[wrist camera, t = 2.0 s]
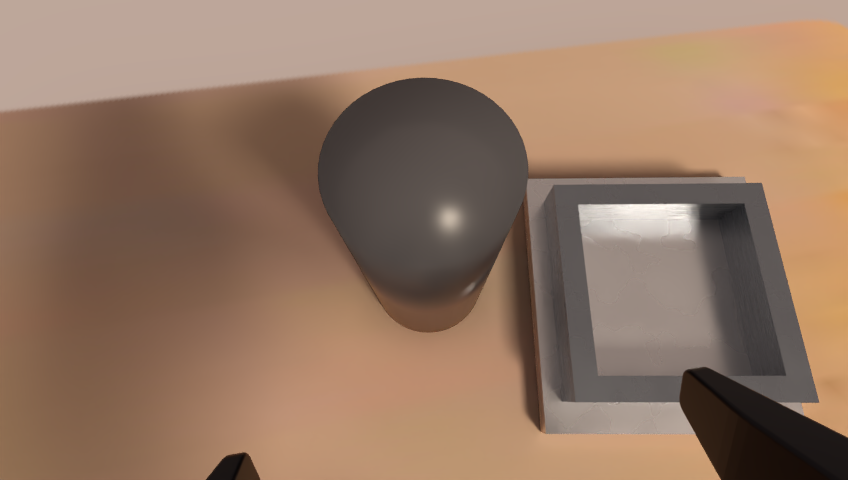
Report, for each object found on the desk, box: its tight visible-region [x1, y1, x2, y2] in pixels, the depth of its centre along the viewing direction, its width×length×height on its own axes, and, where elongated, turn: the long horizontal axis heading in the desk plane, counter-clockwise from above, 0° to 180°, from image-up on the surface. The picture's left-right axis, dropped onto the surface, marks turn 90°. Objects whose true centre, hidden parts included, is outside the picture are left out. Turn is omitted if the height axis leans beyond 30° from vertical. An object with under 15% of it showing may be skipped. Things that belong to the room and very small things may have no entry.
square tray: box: [523, 177, 819, 434], centre depth 21 cm, size 12×11×3 cm
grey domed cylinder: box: [318, 78, 528, 332], centre depth 17 cm, size 5×5×12 cm
